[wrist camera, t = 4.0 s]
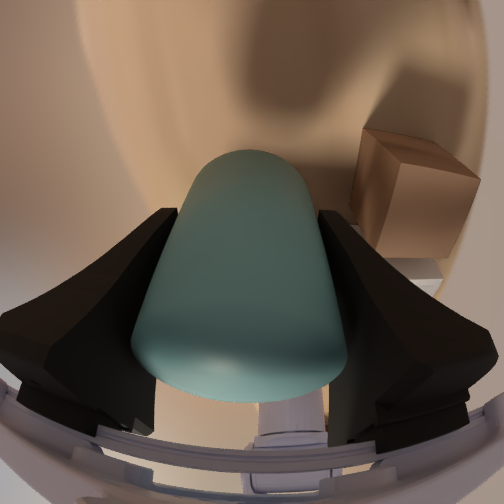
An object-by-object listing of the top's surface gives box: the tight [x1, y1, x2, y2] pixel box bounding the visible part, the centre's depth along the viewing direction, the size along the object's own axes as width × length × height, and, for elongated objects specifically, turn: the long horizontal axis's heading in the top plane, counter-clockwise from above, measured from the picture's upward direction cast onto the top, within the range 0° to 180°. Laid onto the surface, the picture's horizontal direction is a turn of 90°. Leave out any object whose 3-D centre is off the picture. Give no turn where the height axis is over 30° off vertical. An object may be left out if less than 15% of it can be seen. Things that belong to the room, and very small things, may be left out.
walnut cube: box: [349, 128, 481, 258], centre depth 13 cm, size 5×5×5 cm
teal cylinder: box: [131, 150, 348, 403], centre depth 9 cm, size 5×5×7 cm
